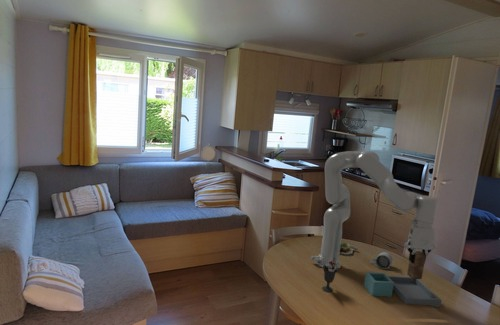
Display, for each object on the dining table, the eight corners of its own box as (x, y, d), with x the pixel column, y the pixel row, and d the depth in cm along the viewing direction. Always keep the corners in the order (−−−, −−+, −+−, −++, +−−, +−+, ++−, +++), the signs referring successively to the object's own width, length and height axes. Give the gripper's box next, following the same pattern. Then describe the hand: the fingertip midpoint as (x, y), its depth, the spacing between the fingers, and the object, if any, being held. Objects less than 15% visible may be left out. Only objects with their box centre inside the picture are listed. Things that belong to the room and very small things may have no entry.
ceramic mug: (392, 265, 189) (393, 252, 188) (389, 271, 182) (391, 257, 181) (371, 260, 194) (373, 247, 193) (368, 265, 187) (370, 251, 186)
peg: (412, 278, 156) (416, 254, 155) (407, 274, 161) (411, 250, 159) (421, 279, 157) (425, 255, 155) (416, 274, 161) (420, 251, 159)
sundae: (335, 287, 160) (339, 257, 158) (334, 294, 154) (338, 263, 151) (321, 284, 162) (325, 254, 160) (319, 291, 156) (323, 259, 153)
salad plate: (357, 247, 211) (358, 240, 211) (357, 258, 195) (358, 251, 194) (325, 241, 217) (326, 234, 216) (322, 251, 200) (323, 244, 199)
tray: (404, 305, 150) (406, 298, 149) (384, 282, 170) (385, 275, 169) (440, 307, 151) (441, 299, 151) (415, 283, 171) (416, 276, 170)
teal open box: (371, 297, 154) (374, 282, 153) (363, 286, 163) (366, 272, 162) (391, 298, 155) (393, 282, 154) (382, 287, 164) (384, 272, 163)
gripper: (409, 225, 150) (403, 265, 153) (446, 227, 152) (439, 266, 155) (400, 219, 158) (394, 257, 161) (436, 221, 159) (429, 259, 162)
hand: (416, 261), depth 158 cm, fingers closed on peg, 4 cm apart
